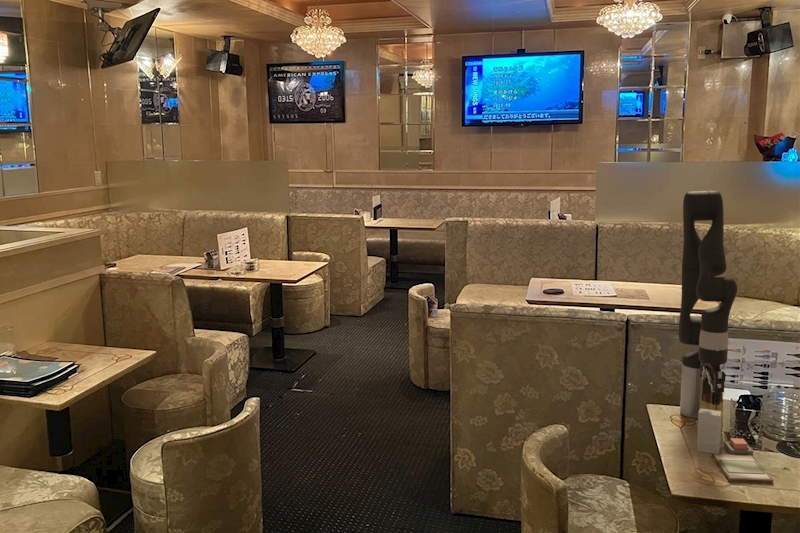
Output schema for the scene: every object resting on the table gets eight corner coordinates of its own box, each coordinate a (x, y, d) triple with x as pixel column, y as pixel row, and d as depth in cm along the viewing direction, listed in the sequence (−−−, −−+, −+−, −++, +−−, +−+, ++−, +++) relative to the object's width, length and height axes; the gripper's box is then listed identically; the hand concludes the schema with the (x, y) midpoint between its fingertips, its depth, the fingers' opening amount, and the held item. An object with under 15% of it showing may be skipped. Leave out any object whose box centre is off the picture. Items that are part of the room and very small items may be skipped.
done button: (729, 444, 196) (730, 438, 196) (742, 445, 196) (743, 438, 196) (734, 449, 193) (734, 443, 193) (747, 450, 192) (747, 443, 192)
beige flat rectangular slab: (711, 456, 192) (711, 453, 192) (751, 458, 191) (752, 454, 191) (729, 482, 178) (729, 478, 178) (773, 483, 176) (773, 479, 176)
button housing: (723, 447, 198) (724, 441, 198) (745, 448, 197) (745, 442, 197) (730, 456, 192) (731, 450, 192) (752, 457, 191) (753, 451, 191)
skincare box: (720, 449, 197) (722, 411, 195) (718, 455, 193) (720, 416, 191) (698, 445, 200) (699, 407, 198) (696, 451, 196) (698, 412, 194)
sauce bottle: (718, 427, 212) (721, 367, 209) (725, 435, 206) (729, 374, 203) (696, 427, 213) (699, 367, 210) (703, 435, 207) (706, 374, 204)
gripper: (692, 338, 199) (690, 390, 202) (707, 352, 185) (704, 407, 188) (719, 338, 198) (716, 391, 200) (735, 352, 184) (732, 408, 187)
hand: (710, 399), depth 194 cm, fingers open, 8 cm apart
